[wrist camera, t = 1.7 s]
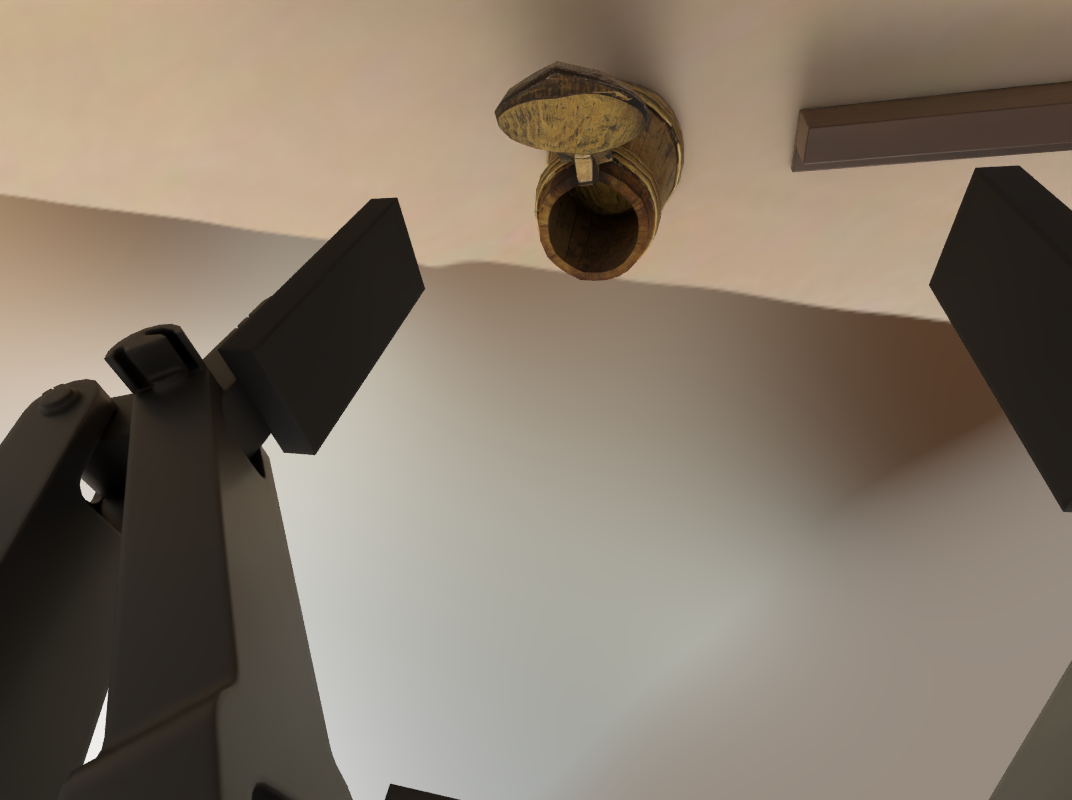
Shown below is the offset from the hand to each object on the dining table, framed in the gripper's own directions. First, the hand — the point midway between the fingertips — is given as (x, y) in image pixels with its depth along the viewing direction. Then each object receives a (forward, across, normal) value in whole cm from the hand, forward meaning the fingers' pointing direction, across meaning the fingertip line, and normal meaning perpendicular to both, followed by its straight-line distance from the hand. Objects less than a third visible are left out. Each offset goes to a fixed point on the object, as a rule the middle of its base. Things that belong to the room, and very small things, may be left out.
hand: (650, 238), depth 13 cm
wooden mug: (+26, -4, -4) cm, 26 cm away
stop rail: (+25, +16, -5) cm, 31 cm away
